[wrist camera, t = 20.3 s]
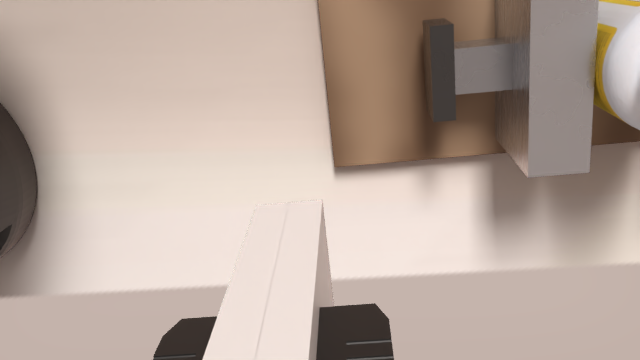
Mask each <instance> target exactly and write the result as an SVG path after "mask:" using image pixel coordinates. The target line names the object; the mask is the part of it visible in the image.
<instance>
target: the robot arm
mask: <svg viewBox="0 0 640 360" xmlns="http://www.w3.org/2000/svg"><path fill="white" fill-rule="evenodd" d="M35 202H36V175H35V168H34V164H33V160H32V157H31V154H30V151H29V148H28V146H27V143H26V141H25V139H24V137H23V135H22V133H21V131H20V129H19V128H18V126H17V124H16V123H15V121H14V120H13V118H12V117H11V116H10V114H9V113H8V112H7V110H6V109H5V108H4V107H3V106H2V105H1V103H0V258H1V257H2V256H4V255H5V254H6V253H7V252H8V251H9V250H10V249H11V248H12V247H13V246H14V245H15V244H16V243H17V242H18V241H19V240H20V238H21V237H22V236H23V234H24V233H25V231H26V229H27V227H28V225H29V223H30V221H31V218H32V215H33V211H34V207H35ZM153 360H394V358H393V349H392V342H391V333H390V325H389V319H388V318H387V317H386V315H385V314H384V313H383V312H382V311H381V310H380V309H379V307H378V306H377V305H376V304H362V305H348V306H334V302H333V293H332V283H331V274H330V265H329V256H328V247H327V238H326V229H325V219H324V210H323V201H322V200H312V201H299V202H287V203H275V204H263V205H256V207H255V210H254V213H253V215H252V218H251V221H250V224H249V227H248V230H247V233H246V236H245V239H244V241H243V244H242V247H241V250H240V253H239V256H238V259H237V262H236V264H235V267H234V270H233V273H232V276H231V279H230V282H229V285H228V287H227V291H226V293H225V296H224V299H223V302H222V305H221V308H220V311H219V313H218V316H217V317H202V318H188V319H182V320H180V321H179V322H178V323H177V324H176V325H175V326H174V327H172V328H171V329H170V330H169V331H168V332H167V333H166V334H165V335H164V336H163V337H162V339H161V341H160V343H159V345H158V348H157V350H156V352H155V354H154V359H153Z"/></svg>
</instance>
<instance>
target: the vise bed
mask: <svg viewBox="0 0 640 360" xmlns="http://www.w3.org/2000/svg"><path fill="white" fill-rule="evenodd" d="M318 5H319V15H320V25H321V35H322V45H323V55H324V65H325V75H326V85H327V95H328V105H329V115H330V125H331V136H332V146H333V156H334V166H335V167H342V166H354V165H366V164H378V163H389V162H401V161H413V160H425V159H436V158H448V157H460V156H472V155H483V154H495V153H507V152H506V150H505V149H504V148H503V147H502V146H501V144H500V143H499V142H498V141H497V139H496V138H495V91H492V92H481V93H470V94H460V95H456V120H453V121H442V122H433V120H432V119H431V117H430V115H429V113H428V111H427V109H426V91H425V68H424V45H423V22H422V20H430V19H440V18H445V19H447V20H448V21H450V22H451V23H453V24H454V42H459V41H469V40H479V39H490V38H495V0H318ZM636 141H640V130H638V129H636V128H634V127H632V126H630V125H629V124H627V123H625V122H624V121H622V120H620V119H618V118H617V117H615V116H613V115H611V114H610V113H608V112H606V111H604V110H603V109H601V108H599V107H598V106H596V105H594V104H593V118H592V137H591V145H601V144H613V143H624V142H636Z"/></svg>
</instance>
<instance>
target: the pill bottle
mask: <svg viewBox="0 0 640 360" xmlns="http://www.w3.org/2000/svg"><path fill="white" fill-rule="evenodd" d="M593 104H594V105H596V106H598V107H599V108H601V109H603V110H604V111H606V112H608V113H610V114H611V115H613V116H615V117H617V118H618V119H620V120H622V121H624V122H625V123H627V124H629V125H630V126H632V127H634V128H636V129H638V130H640V0H599V6H598V25H597V44H596V62H595V81H594V100H593Z"/></svg>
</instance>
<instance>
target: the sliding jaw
mask: <svg viewBox="0 0 640 360" xmlns="http://www.w3.org/2000/svg"><path fill="white" fill-rule="evenodd" d="M598 6H599V0H495V38H490V39H479V40H469V41H459V42H454V24H453V23H451V22H450V21H448V20H447V19H445V18H440V19H430V20H422V22H423V45H424V68H425V91H426V109H427V111H428V113H429V115H430V117H431V119H432V120H433V122H442V121H453V120H456V95H460V94H470V93H481V92H492V91H495V138H496V139H497V141H498V142H499V143H500V144H501V146H502V147H503V148H504V149H505V150H506V152H507V153H508V154H509V155H510V156H511V158H512V159H513V160H514V161H515V163H516V164H517V165H518V166H519V167H520V169H521V170H522V171H523V172H524V174H525V175H526V176H527V177H528V178H530V177H543V176H555V175H567V174H579V173H590V156H591V137H592V118H593V100H594V81H595V62H596V44H597V25H598Z"/></svg>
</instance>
